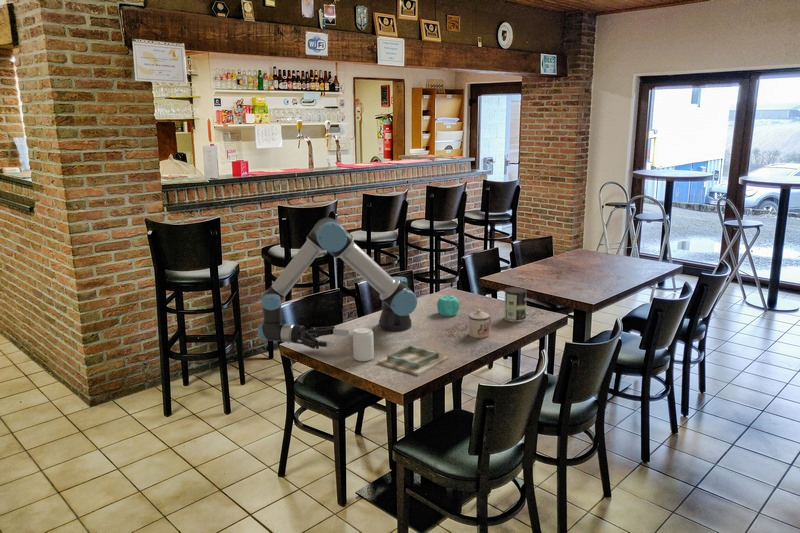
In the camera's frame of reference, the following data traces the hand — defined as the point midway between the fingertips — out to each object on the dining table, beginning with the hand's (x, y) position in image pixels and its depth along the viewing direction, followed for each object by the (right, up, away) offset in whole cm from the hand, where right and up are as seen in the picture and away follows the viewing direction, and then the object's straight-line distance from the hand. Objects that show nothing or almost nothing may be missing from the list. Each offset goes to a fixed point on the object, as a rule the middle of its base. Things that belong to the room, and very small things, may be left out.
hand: (341, 338), depth 246 cm
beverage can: (+9, -8, -1) cm, 12 cm away
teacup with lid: (+59, -1, +23) cm, 64 cm away
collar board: (+29, -8, -5) cm, 30 cm away
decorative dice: (+47, +6, +52) cm, 71 cm away
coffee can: (+78, +4, +43) cm, 89 cm away
